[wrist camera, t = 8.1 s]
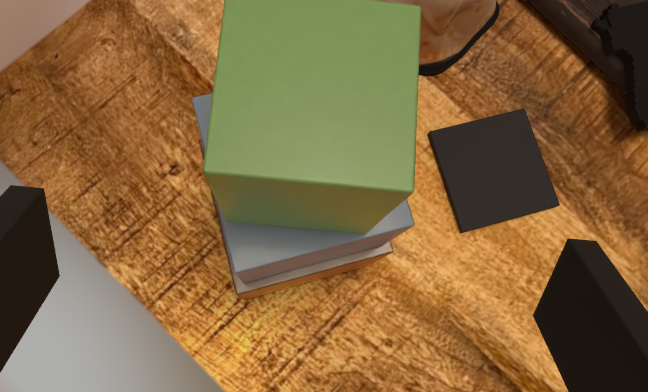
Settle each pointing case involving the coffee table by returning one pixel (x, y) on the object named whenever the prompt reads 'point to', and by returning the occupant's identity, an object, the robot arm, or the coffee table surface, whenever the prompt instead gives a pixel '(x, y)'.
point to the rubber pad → (492, 170)
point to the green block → (314, 112)
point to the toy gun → (629, 53)
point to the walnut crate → (300, 274)
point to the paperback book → (585, 30)
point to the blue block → (294, 233)
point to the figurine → (450, 29)
